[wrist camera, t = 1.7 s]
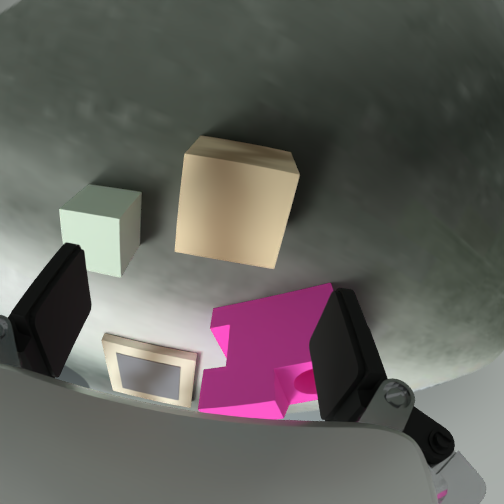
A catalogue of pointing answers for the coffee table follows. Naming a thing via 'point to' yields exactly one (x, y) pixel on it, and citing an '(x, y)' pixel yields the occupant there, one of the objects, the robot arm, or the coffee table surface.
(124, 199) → the sage cube
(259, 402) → the bracket
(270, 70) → the coffee table surface
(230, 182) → the oak block
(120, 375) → the birch board
